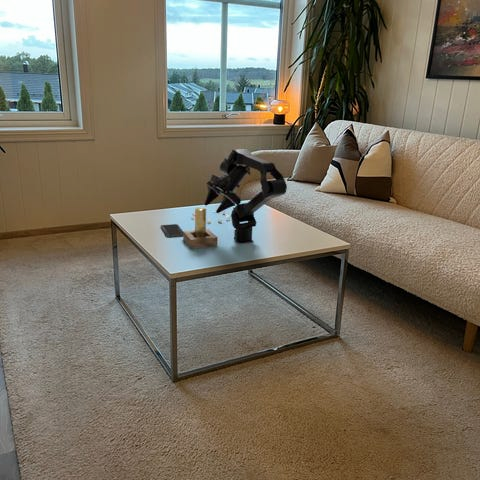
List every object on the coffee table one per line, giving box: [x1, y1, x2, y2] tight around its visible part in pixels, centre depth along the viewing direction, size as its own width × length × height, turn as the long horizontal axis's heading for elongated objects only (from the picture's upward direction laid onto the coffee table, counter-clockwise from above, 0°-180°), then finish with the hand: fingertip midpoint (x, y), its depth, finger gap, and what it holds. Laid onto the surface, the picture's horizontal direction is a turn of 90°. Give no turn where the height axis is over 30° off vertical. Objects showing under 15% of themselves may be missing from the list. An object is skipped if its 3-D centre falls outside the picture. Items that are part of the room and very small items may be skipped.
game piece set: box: [190, 206, 231, 225], centre depth 225 cm, size 19×20×4 cm
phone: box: [160, 223, 183, 238], centre depth 204 cm, size 8×1×15 cm
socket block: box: [182, 228, 218, 249], centre depth 191 cm, size 11×11×4 cm
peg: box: [194, 207, 207, 238], centre depth 189 cm, size 4×4×14 cm
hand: (210, 208), depth 190 cm, fingers open, 9 cm apart
